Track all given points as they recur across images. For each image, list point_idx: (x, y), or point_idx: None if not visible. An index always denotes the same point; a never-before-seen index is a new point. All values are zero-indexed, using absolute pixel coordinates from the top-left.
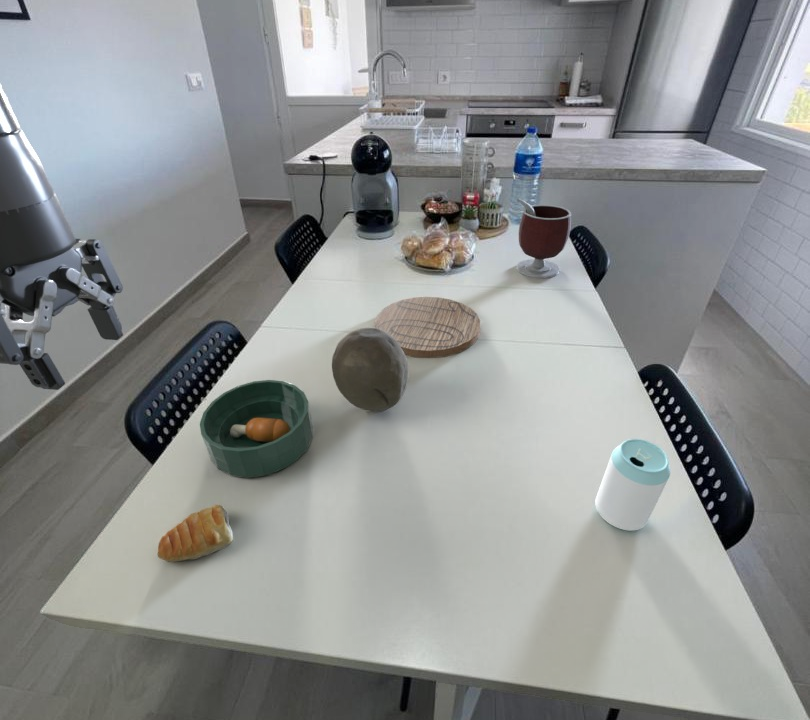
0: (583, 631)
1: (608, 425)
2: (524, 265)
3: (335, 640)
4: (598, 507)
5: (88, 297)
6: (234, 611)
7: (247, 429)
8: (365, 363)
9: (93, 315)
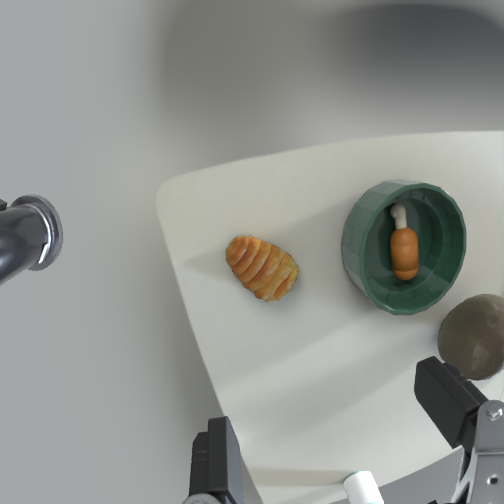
0: (281, 480)
1: (421, 455)
2: None
3: (227, 402)
4: (355, 476)
5: (458, 489)
6: (215, 336)
7: (399, 238)
8: (473, 367)
9: (453, 408)
